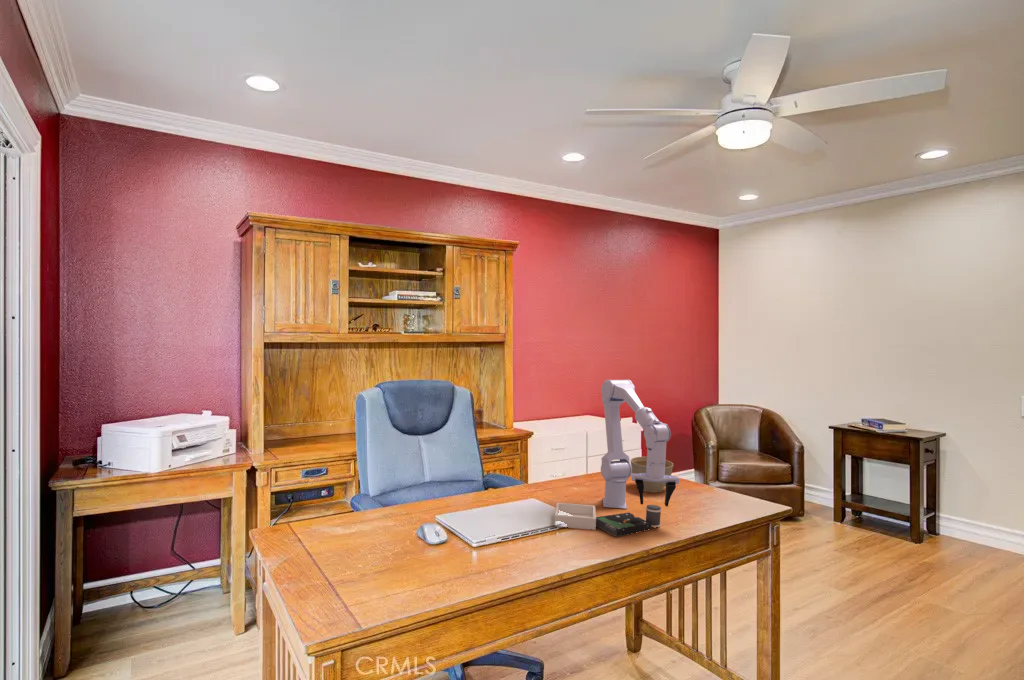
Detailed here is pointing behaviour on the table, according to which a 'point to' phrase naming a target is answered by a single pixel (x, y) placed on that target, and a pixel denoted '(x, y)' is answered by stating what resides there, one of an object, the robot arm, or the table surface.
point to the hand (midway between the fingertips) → (653, 504)
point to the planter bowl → (640, 467)
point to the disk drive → (622, 524)
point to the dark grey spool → (653, 515)
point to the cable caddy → (577, 515)
